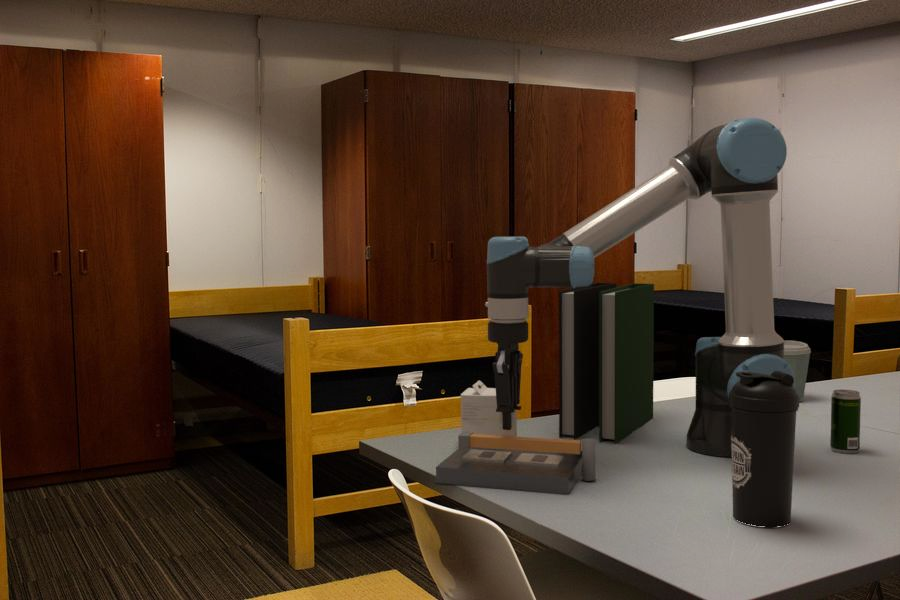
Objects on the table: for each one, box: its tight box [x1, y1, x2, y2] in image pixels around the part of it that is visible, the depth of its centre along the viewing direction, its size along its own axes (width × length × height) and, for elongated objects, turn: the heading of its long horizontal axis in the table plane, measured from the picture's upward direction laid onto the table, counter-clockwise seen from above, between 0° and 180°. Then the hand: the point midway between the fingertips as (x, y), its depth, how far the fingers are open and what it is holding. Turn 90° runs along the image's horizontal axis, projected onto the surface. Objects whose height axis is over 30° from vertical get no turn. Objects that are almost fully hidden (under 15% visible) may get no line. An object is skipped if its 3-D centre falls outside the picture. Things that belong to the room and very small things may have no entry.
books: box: [558, 282, 655, 445], centre depth 195 cm, size 27×15×32 cm, turn 152°
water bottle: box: [729, 371, 800, 527], centre depth 134 cm, size 10×10×23 cm
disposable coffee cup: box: [784, 340, 812, 403], centre depth 223 cm, size 11×11×15 cm
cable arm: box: [457, 432, 596, 482], centre depth 159 cm, size 25×3×7 cm, turn 73°
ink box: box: [460, 380, 501, 436], centre depth 181 cm, size 9×8×13 cm
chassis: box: [435, 447, 582, 495], centre depth 160 cm, size 24×18×4 cm
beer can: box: [829, 389, 862, 455], centre depth 173 cm, size 5×5×12 cm
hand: (508, 445), depth 162 cm, fingers closed
